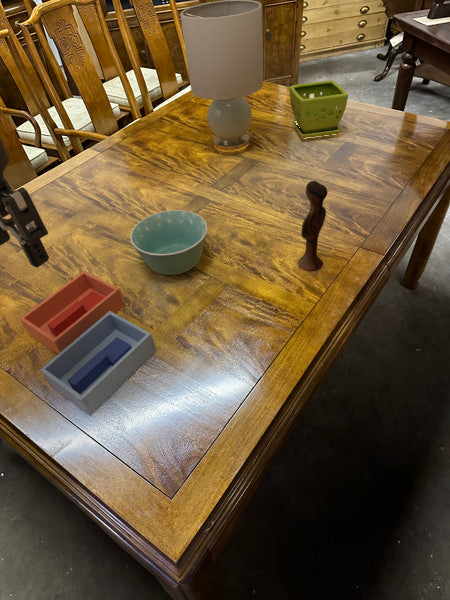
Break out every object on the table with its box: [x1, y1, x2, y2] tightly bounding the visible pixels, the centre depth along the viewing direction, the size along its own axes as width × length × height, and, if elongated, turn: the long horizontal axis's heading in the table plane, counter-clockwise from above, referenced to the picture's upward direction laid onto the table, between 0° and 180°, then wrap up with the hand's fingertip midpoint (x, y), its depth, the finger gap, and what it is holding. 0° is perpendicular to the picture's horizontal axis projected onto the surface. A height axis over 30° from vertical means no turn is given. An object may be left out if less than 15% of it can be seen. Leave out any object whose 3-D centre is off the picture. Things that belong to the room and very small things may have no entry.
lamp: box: [180, 0, 264, 156], centre depth 115 cm, size 20×20×35 cm
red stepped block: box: [47, 291, 105, 337], centre depth 79 cm, size 11×4×3 cm, turn 144°
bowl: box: [129, 209, 208, 276], centre depth 87 cm, size 16×16×8 cm
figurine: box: [297, 180, 329, 272], centre depth 80 cm, size 7×5×18 cm
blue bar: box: [68, 337, 132, 394], centre depth 70 cm, size 11×4×3 cm, turn 144°
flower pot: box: [288, 80, 349, 141], centre depth 125 cm, size 14×14×13 cm
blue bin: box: [39, 311, 157, 417], centre depth 70 cm, size 15×10×4 cm
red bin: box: [19, 270, 126, 355], centre depth 78 cm, size 15×10×4 cm
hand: (21, 252), depth 54 cm, fingers open, 8 cm apart
